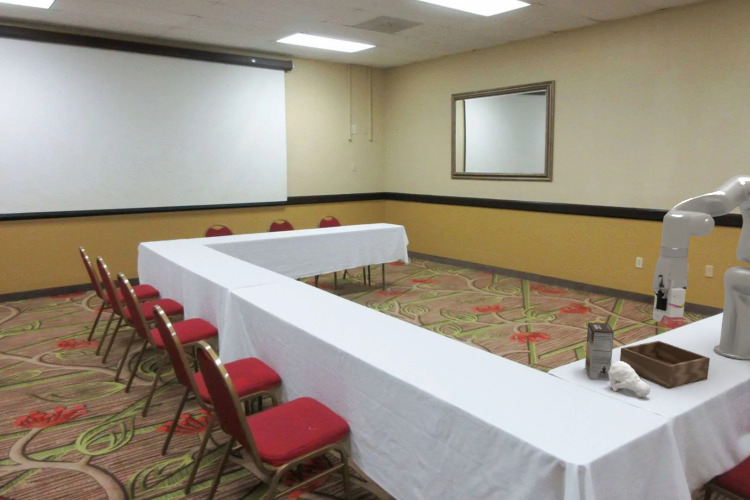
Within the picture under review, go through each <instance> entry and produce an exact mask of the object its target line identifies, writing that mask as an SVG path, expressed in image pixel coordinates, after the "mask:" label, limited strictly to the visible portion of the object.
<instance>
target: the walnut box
mask: <svg viewBox="0 0 750 500" xmlns="http://www.w3.org/2000/svg"><path fill="white" fill-rule="evenodd" d="M710 360H711V358H710V357H708V356H705V355H702V354H700V353H696V352H693V351H690V350H687V349H684V348H682V347H679V346H675V345H672V344H669V343H666V342H663V341H661V340H655V341H651V342H645V343H639V344H633V345H630V346H624V347H623V346H622V347H620V355H619V361H623V362H625V363H627V364H629V365H630V366H631V368H633V369H634V370H635V372H636V374H637V375H638V376H639V378H642V379H644V380H646V381H649V382H651V383H654V384H656V385H659V386H661V387H663V388H666V389H668V390H670V389H672V388H678V387H682V386H685V385H686V386H687V385H689V384H694V383H697V382H702V381H706V380H708V379H709V378H708V377H709V371H710V370H709V369H710V368H709V367H710Z"/></svg>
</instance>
